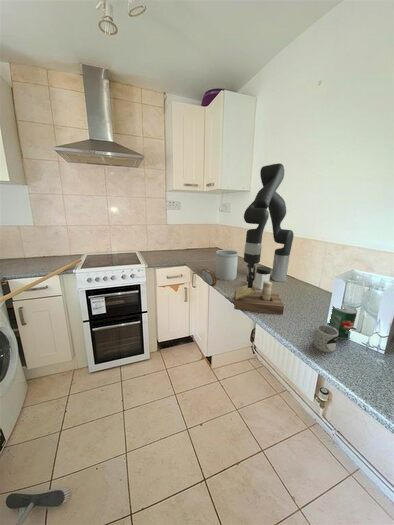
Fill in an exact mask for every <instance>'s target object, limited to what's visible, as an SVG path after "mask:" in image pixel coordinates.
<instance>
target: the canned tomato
mask: <svg viewBox="0 0 394 525" xmlns="http://www.w3.org/2000/svg"><path fill="white" fill-rule="evenodd" d="M332 308H333V309H332ZM332 308H331V312H332V314H331V313H330V317H331V319H329V322H330V323H329V322H328V326H330V327H332V328H336V330H337V331H338V333H339V334H338V338H337V339H341V340H349V339H348V333H349V330H350V329H352V328H353V329H354V326H355V323H356V322H355V321H356V318H357V314H358V309H356V308H355V309H348V308H344V309H343V308H342V309H339V308H335V307H334V306H333V305H332Z"/></svg>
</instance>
